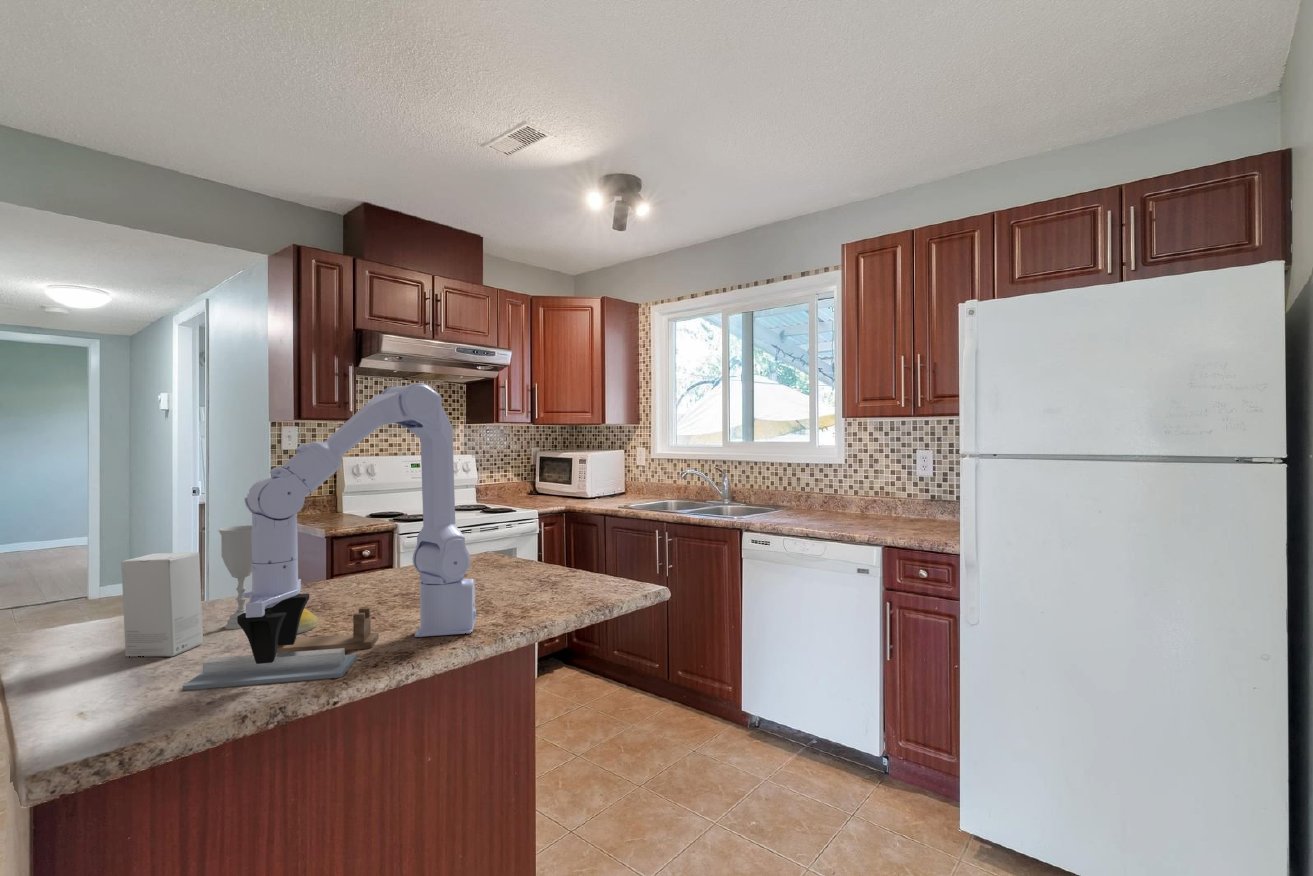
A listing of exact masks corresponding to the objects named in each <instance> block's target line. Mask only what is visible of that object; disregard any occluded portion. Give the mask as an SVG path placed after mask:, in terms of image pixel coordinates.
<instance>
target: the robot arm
mask: <svg viewBox="0 0 1313 876" xmlns="http://www.w3.org/2000/svg"><path fill="white" fill-rule="evenodd" d="M442 402H443V400H442V396H441V394H439V393H438V392H437V391H436V390H435V389H433V388H432V387H431V386H429V385H427V384H425V383H422V382H415V383H411V384H407V385H402V386H401V385H400V386H399V385H397V386H390V387H387V388H385V389H384V390H382V391H381V393H380V394H376V395H375V396H373V397H372V398H370V400H369V401H368V402H367V403H366V404H364V405H363V406H362V407H361V408H360V409H359V410H357V412H356V413H354V414H353V415H352V416H351V417H350V418H349V419H348V420H347V421H346V422H344V423H343V424H342V425H341V426H340V427H339V428H338V429H337V430H336V431H334V433H333V434H331V435H330V436H329V437H328V438H326V440H324V441H311V442H309V443H308V444H306V443H302V444H300V445H299V446H297V447H296V448H295V451H296V452H297V453H296V454H294V455H293V456H292V457H290V458H289V459H288V460H287V461H286V462H284V463H283V464H282V465H280V467H273V468H272V469H271V470H269V474H271V477H268V478H262V479H260V480H258V481H256V482H254V484H253V485H251V487H250V488H249V490H248V491H249V492H248V493H247V496H246V497H244V503H245V504H244V505H245V507H246V508H247V510H248V511H249V512H250V513H252V514H251V526H252V572H251V589H250V590H247V591H246V590H245V592H244V593H243V598H247V599H249V601H248V602H247V603H245V609H246V613H242V614H240V615H239V616H237V622H238V624H239V625H240V627H241V629H242V630H243V632H244V633H245V635H246V637H247V640H248V642H249V645H250V648H251V652H252V655H253V656H254V659H255V661H256V664H262V663H272V662H273V661H274V660H275V656H276V651H277V644H278V646H283V645H293V644H294V643H295V640H296V638H297V635H298V634H297V631H298V627H299V622H300V618H301V615H302V612H303V610H304V608H305V609H306V606H307V603H308V602H309V600H310V593H300V592H302V579H301V578H299V558H298V557H299V555H298V554H299V550H298V548H299V547H298V546H299V545H298V544H299V543H298V542H299V541H298V535H299V534H298V513H299V512H300V511H301V510H303V507H304V506H305V505H304V504H305V500H306V497H308V496H311V494H312V493H313V492H314V491H315V490H317V489H318V488H319V487H320V486H321V485H322V484H323V483H324V482H326V481H327V480H328V479H329V478H330V477H332V476H333V475H334V474H335V473H336V472H337V471H338V470H340V468H341V465H342V464H341V461H342V456H344V454H346V453H347V452H349V451H350V450H352V448H354V447H355V446H356V445H358V444H359V443H360V442H361V441H363V440H364V439H365V438H366V437H368V436H369V435H370V434H372V433H373V432H374V431H375V430H377V429H379V427H381V426H385V425H389V424H390V425H391V424H396V425H399V426H402V427H405V429H407V430H409V431H410V432H411V433H412V434H414V435H415V436H416V437H417V438H419V440H420V457H421V459H420V462H421V492H422V493H421V495H422V496H421V497H422V498H421V499H422V519H423V521H422V522H423V523H422V526H423V527H422V528H421V529H420V531H419V533H418V534H417V536H416V547H415V549H414V552H413V554H412V565H413V567H414V570H416V571H417V572H418V573H419V609H420V610H419V611H420V612H419V618H420V619H419V621H420V623H419V627H418V628H417V630H416V631H415V633H414V637H415V638H423V637H436V636H450V635H462V634H463V635H464V634H465V633H466V634H471V632H472V633H473V630H474V627H475V624H476V620H477V609H476V587H475V585H476V583H475V582H476V581H475V579H474V578H464V576H465V575H466V574H467V572H468V571H469V569H470V566H471V555H470V553H469V551H468V549H467V546H466V538H465V536H464V534H463V533H462V531H461V530H460V529H459V528H458V526H457V525H456V504H455V503H456V502H455V500H456V498H455V469H454V468H455V467H454V437H453V436H454V435H453V434H454V432H453V425H452V424H451V422H450V419H449V418H448V416H447V414H446V411H445V410H444V408H443V403H442ZM466 634H465V635H466Z"/></svg>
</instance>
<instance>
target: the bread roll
mask: <svg viewBox="0 0 1313 876" xmlns="http://www.w3.org/2000/svg"><path fill="white" fill-rule="evenodd" d="M317 624H318V618H317V616H316V615H315V614H313V613H312V612H311V611H310V610H309V609H307V608H306V607H305V608H304V610H303V612H302V615H301V618H300V622H299V627H298V631H297V635H298V634H303V633H306V632H308V631H310V630H311V631H312V630H313V629H314V628H316V626H317Z"/></svg>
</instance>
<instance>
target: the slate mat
mask: <svg viewBox="0 0 1313 876" xmlns="http://www.w3.org/2000/svg"><path fill="white" fill-rule="evenodd" d="M357 659H358V654H357V653H355V654H354V653H353V654H345V662H344V663H343V664H342V665H341V666H336V667H323V668H311V669H298V670H285V671H273V672H260V673H247V674H235V675H222V676H209V677H203V671H202V672H201V673H199V674H197V675H195V676H194V677H193V678H192V679H191V680H189V681H187V682H186V683H185V684H184V685H182V691H191V690H193V691H194V690H202V689H203V690H204V689H214V688H226V687H228V688H229V687H238V686H239V687H241V686H250V685H252V686H253V685H262V684H263V685H264V684H275V683H277V684H278V683H288V682H298V681H299V682H301V681H311V680H312V681H313V680H324V679H335V678H336V679H337V678H338V679H339V678H343V676H344V675H345V674H346V673H347V672H348V671H349V669H350V668H351V667H352V665H353V664H354V663H355V661H356V660H357Z"/></svg>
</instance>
